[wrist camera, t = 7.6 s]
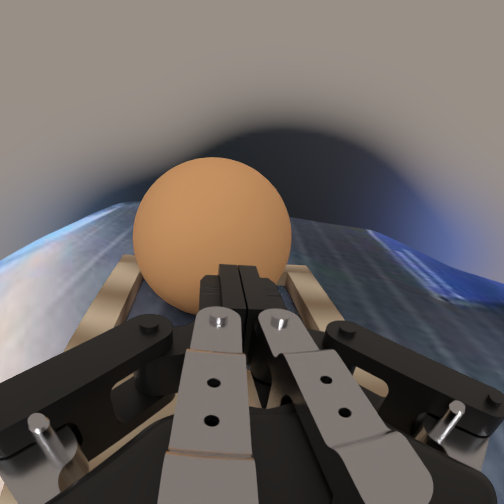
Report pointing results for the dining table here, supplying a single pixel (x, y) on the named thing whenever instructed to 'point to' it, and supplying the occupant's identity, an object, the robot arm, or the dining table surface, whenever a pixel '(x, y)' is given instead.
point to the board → (313, 316)
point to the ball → (208, 228)
